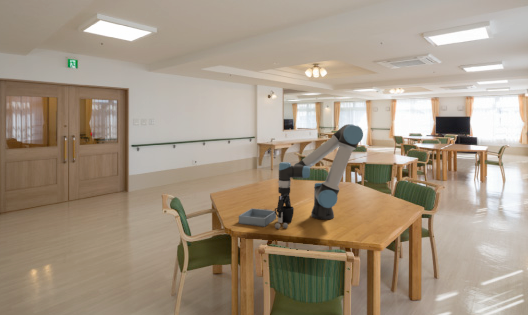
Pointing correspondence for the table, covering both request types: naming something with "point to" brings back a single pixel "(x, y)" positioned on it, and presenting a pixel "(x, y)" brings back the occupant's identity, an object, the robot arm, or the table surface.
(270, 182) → the table surface
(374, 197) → the table surface
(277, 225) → the pebble
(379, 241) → the table surface
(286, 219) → the mug
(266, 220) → the bin
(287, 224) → the pebble
